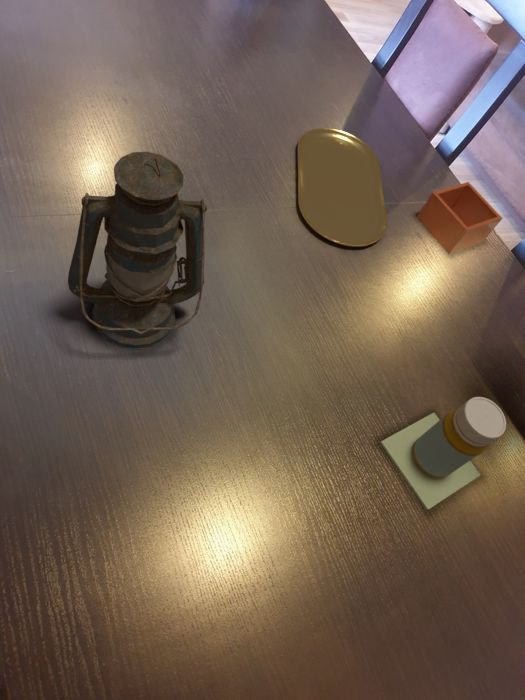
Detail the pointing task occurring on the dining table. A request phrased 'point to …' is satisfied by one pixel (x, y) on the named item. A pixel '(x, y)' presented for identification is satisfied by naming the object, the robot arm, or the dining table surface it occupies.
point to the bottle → (459, 437)
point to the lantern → (140, 252)
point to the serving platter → (340, 188)
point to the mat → (421, 483)
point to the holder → (447, 223)
